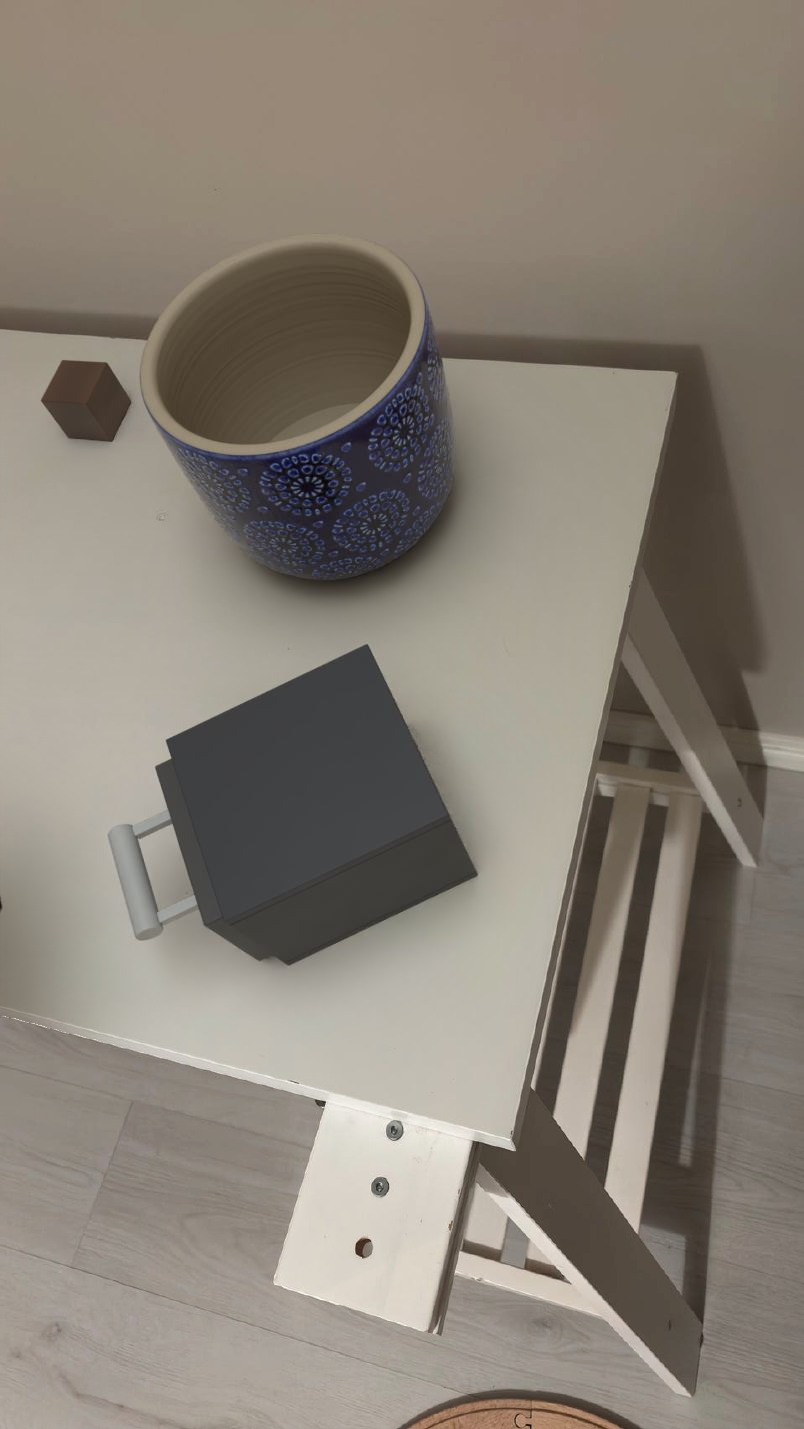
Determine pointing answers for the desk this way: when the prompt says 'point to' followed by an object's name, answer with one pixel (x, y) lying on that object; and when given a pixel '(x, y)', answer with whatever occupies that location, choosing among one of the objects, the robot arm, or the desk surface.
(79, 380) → the walnut block
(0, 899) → the robot arm
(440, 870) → the cabinet
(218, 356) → the planter
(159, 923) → the drawer
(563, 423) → the desk surface
